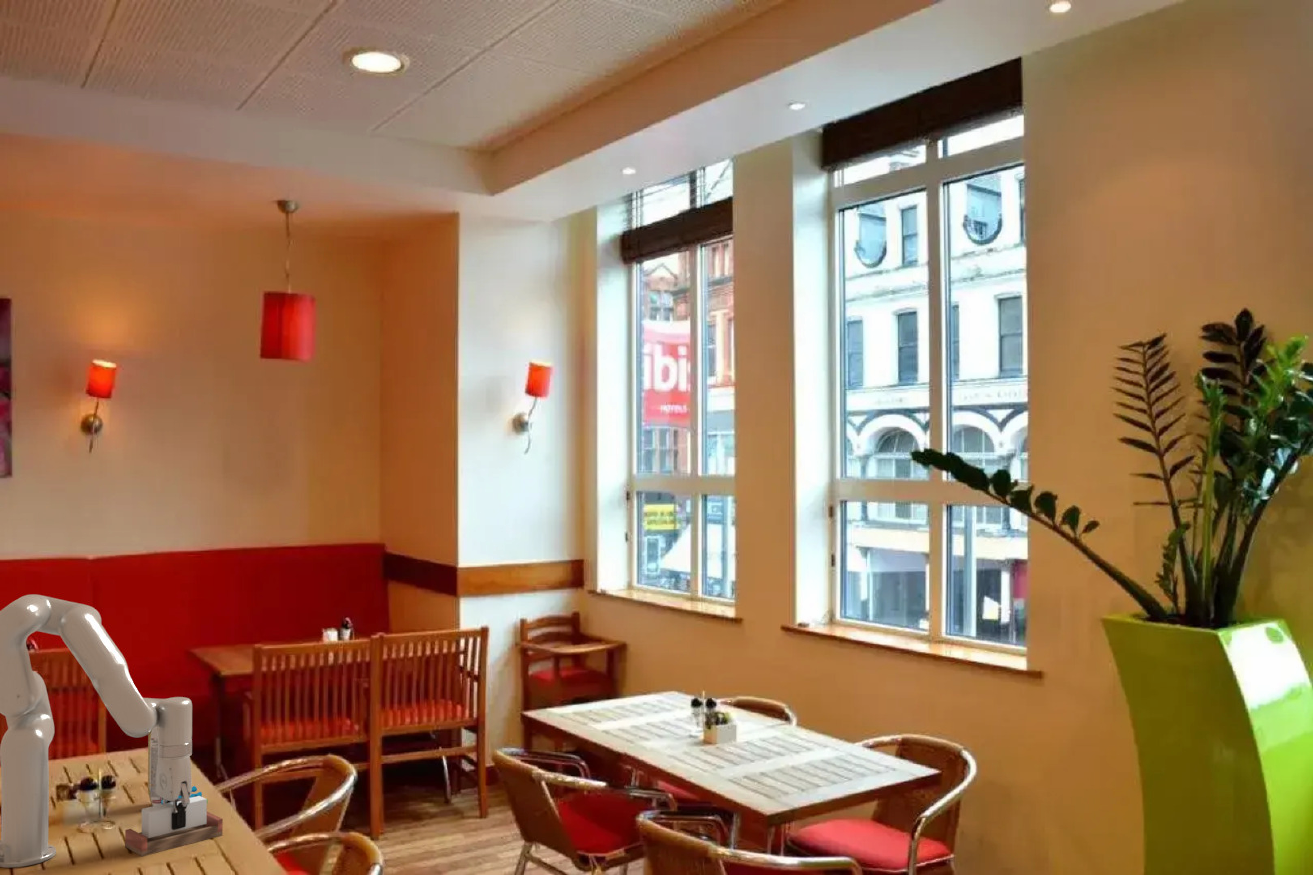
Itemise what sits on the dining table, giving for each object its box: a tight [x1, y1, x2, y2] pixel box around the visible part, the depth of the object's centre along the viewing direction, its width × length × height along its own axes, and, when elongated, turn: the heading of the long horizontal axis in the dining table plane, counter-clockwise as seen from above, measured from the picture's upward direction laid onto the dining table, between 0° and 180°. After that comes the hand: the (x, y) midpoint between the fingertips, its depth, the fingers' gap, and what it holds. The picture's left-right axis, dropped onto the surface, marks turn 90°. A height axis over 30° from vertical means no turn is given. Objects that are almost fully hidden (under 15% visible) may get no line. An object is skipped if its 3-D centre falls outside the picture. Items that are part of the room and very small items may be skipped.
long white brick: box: [140, 796, 208, 838], centre depth 267 cm, size 14×4×6 cm, turn 138°
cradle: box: [124, 811, 224, 857], centre depth 267 cm, size 19×9×4 cm, turn 138°
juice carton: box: [147, 726, 162, 807], centre depth 295 cm, size 9×8×24 cm
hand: (174, 825), depth 267 cm, fingers closed on long white brick, 3 cm apart
